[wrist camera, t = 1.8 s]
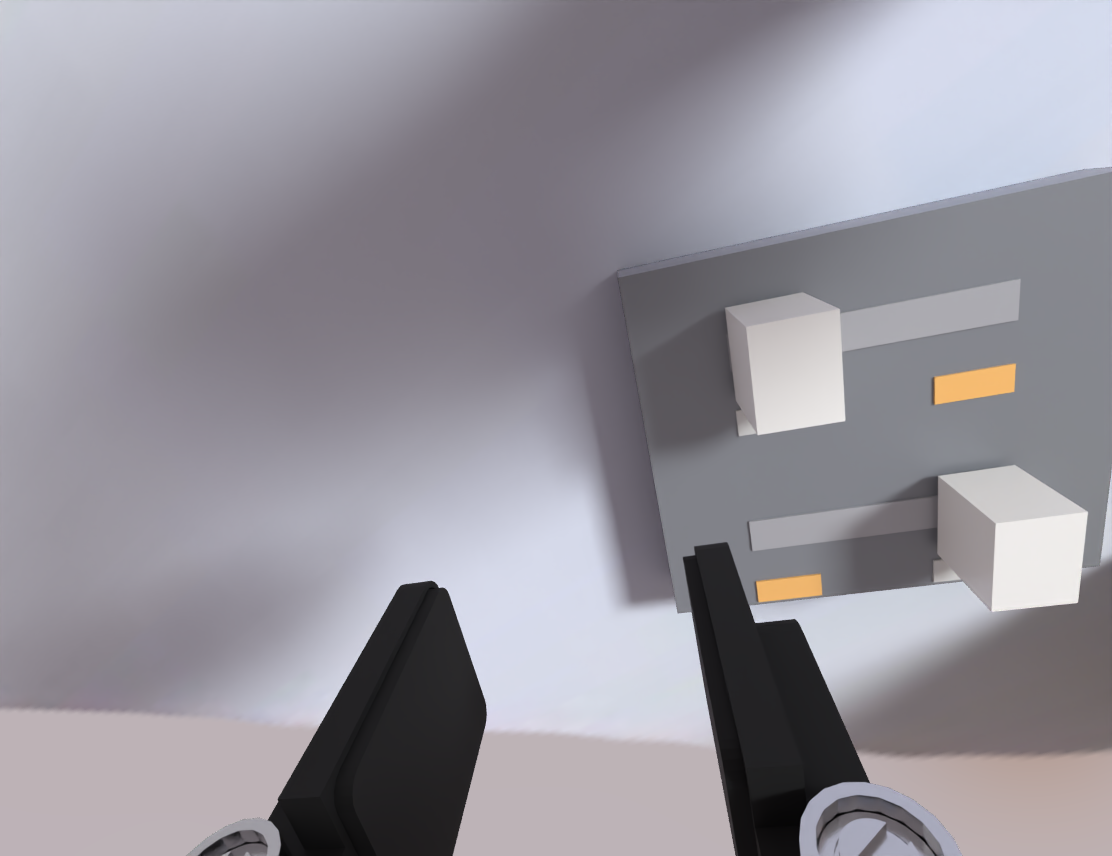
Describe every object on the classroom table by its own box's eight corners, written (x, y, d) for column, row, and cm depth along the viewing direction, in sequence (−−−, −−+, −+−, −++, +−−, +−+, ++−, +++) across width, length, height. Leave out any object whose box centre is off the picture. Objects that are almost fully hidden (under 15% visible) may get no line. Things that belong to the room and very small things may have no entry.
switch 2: (938, 475, 24) (995, 523, 21) (1015, 465, 24) (1088, 511, 20) (937, 554, 26) (991, 611, 22) (1010, 544, 25) (1078, 603, 22)
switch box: (617, 270, 26) (617, 278, 23) (1084, 169, 23) (1151, 163, 20) (672, 577, 32) (677, 614, 29) (1052, 531, 28) (1101, 567, 26)
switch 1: (724, 307, 23) (746, 327, 19) (802, 292, 22) (839, 309, 19) (735, 400, 24) (757, 435, 20) (809, 387, 24) (845, 420, 20)
